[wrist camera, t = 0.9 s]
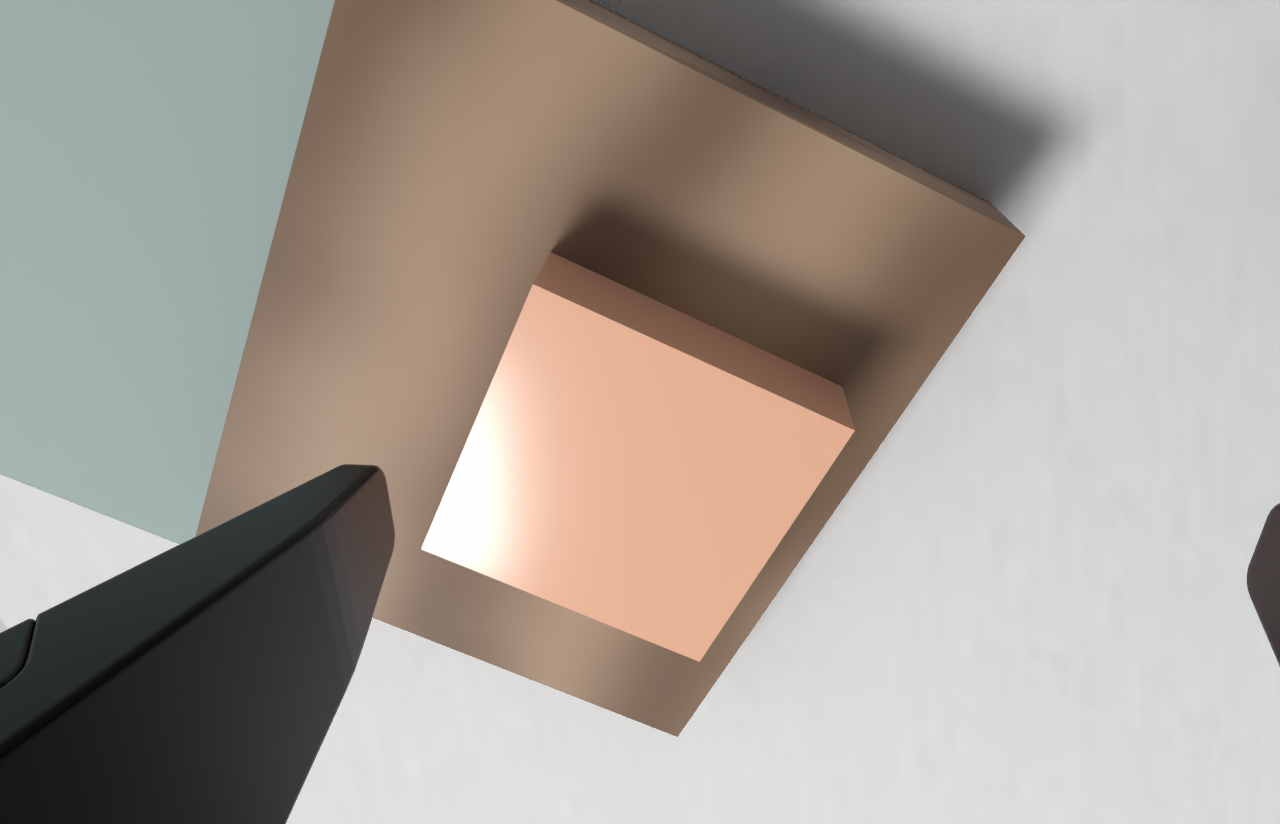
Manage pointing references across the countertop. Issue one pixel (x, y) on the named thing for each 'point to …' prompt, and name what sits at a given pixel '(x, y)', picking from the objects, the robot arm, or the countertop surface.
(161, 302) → the mat
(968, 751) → the countertop surface
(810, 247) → the wooden block
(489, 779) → the countertop surface
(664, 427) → the coaster
